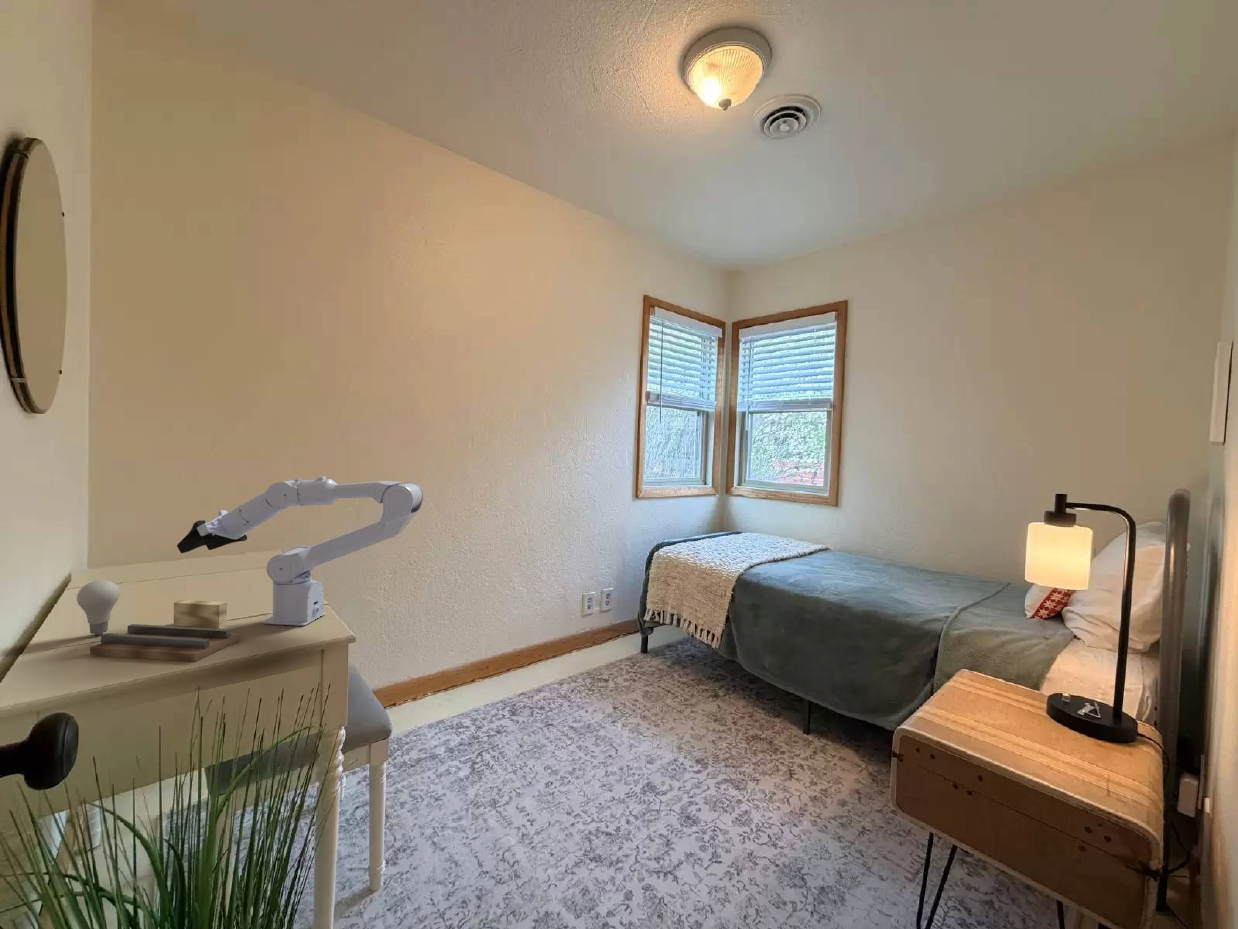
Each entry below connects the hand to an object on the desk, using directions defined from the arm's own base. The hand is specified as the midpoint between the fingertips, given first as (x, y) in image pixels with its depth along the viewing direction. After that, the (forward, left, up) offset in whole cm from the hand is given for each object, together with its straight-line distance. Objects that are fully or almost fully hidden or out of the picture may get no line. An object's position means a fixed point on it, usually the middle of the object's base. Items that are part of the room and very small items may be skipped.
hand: (194, 547), depth 114 cm
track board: (-8, +15, -16) cm, 23 cm away
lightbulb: (+10, +11, -16) cm, 22 cm away
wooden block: (-4, +3, -16) cm, 17 cm away
